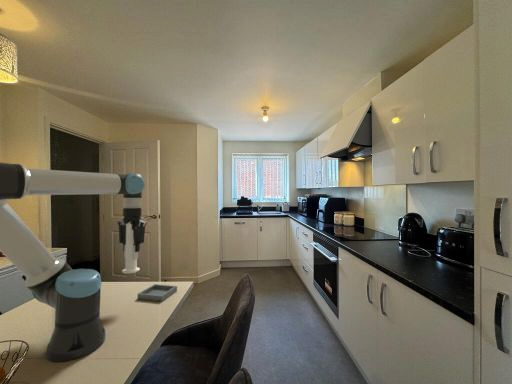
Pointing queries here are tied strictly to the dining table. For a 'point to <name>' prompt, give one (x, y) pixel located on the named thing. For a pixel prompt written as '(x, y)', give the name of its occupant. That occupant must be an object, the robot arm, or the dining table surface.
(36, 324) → the dining table surface
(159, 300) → the tray
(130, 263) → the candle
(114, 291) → the dining table surface
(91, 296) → the robot arm
